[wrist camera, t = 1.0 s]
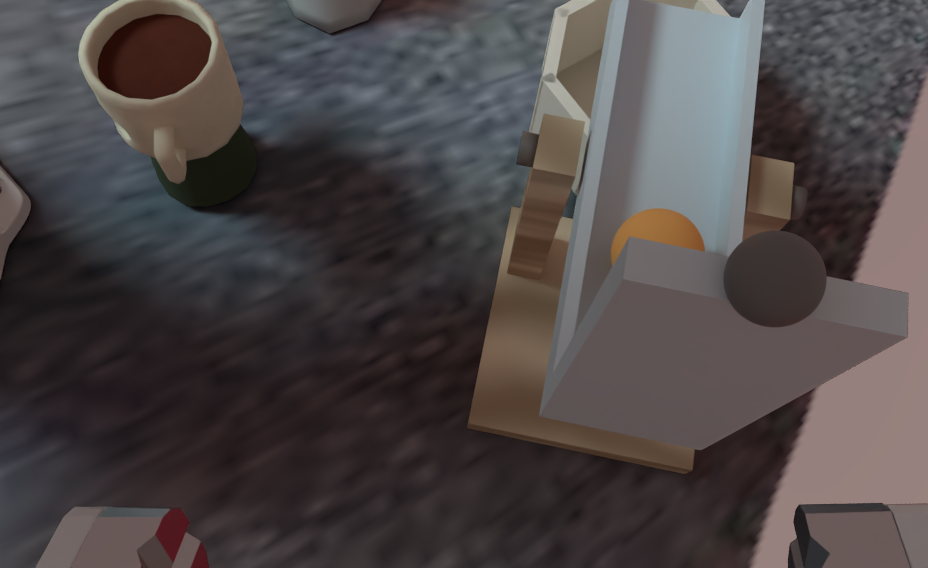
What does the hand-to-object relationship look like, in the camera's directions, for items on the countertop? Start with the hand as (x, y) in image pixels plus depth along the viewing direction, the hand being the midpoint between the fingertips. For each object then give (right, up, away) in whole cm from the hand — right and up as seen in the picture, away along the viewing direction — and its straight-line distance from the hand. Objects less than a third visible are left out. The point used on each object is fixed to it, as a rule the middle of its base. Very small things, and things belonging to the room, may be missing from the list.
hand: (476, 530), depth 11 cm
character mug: (-17, +11, +44) cm, 48 cm away
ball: (+8, +5, +26) cm, 27 cm away
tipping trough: (+9, +6, +32) cm, 33 cm away
